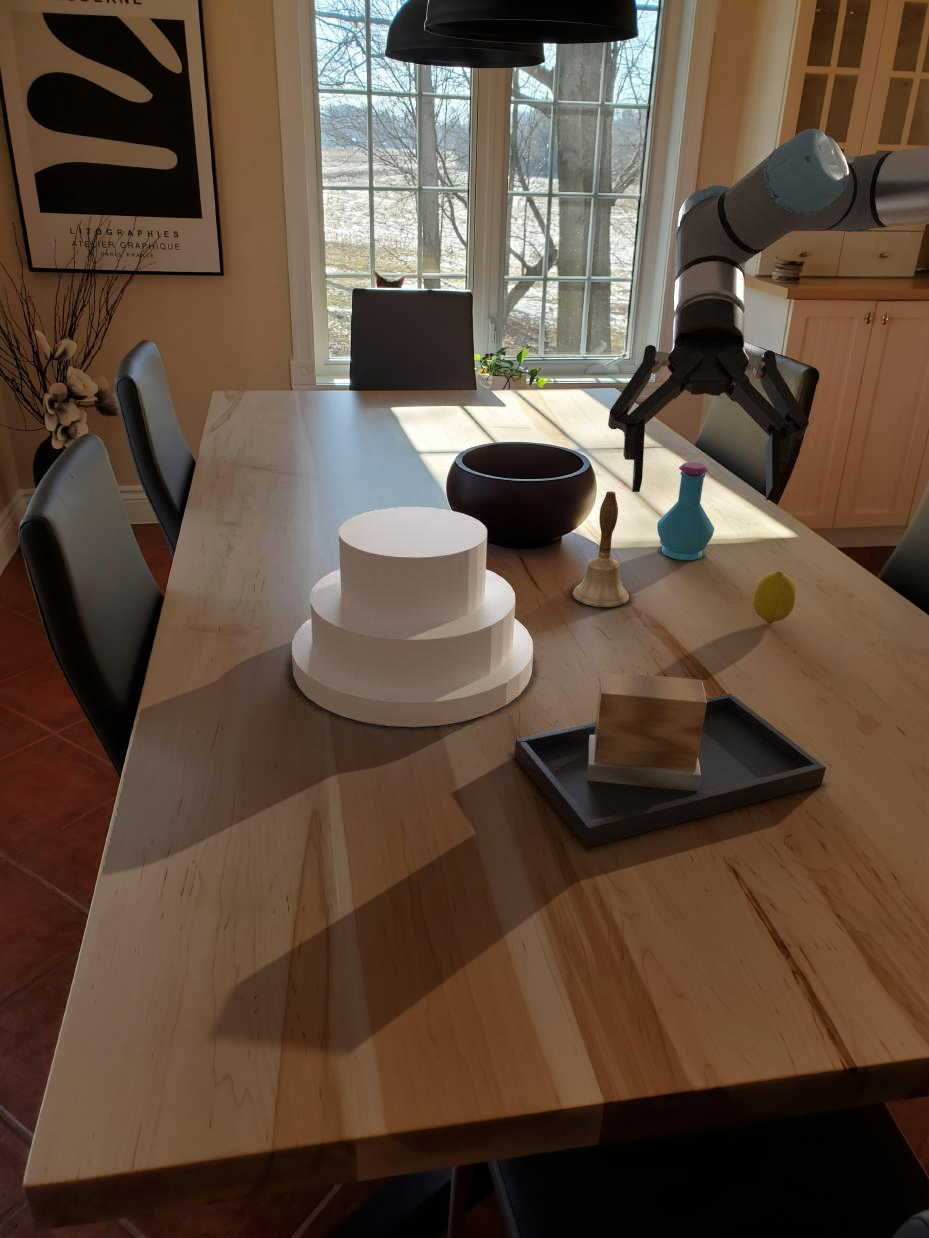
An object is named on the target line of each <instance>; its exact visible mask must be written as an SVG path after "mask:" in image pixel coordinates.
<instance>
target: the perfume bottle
mask: <svg viewBox="0 0 929 1238" xmlns="http://www.w3.org/2000/svg"><path fill="white" fill-rule="evenodd" d="M678 469H679V471H680V484H679V491H678V499H677V501H676V502H675V503H674V504H673V506H671V508H670V509H669V510H667V512H666V513H664V515H663V516H662V517H661V518H660V519H659V520H658V521H657V524H656V525H657V526H656V530H657V534H658V538H659V543H660V544H661V546H662V548H661V553H662V554H663V555H664V556H666V557H669V558H671V559H675V560H680V561H694V560H698V559H700V558H702V556H703V551H704V550H705V549H706V548H707V546H708V544H709V543H710V541H711V540H712V538H713V536H714V532H715V527H714V525H713V523H712V521H711V520H710V518H709V516H708V515H707V513H706V511H705V509H704V507H703V506H702V504H701V502H702V501H701V499H702V495H703V494H702V493H703V487H704V479H705V477H706V473H708V472H709V469H708V467H707V466H706V465H705V464H703V463H701V462H694V461H693V462H690V461H689V462H684V463H683V464H681V465H680V466H679V467H678Z"/></svg>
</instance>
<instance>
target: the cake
mask: <svg viewBox="0 0 929 1238" xmlns="http://www.w3.org/2000/svg"><path fill="white" fill-rule="evenodd" d="M338 542H339V543H338V547H339V549H338V550H339V551H338V552H339V568H338V569H335V570H333V571H331V572H329V573H328V574H327V575H325V576H323V577H321V578H319V580H318V581H317V582H316V583H315V584H314V585H313V587H312V588H311V591H310V594H309V600H310V601H309V602H310V605H309V607H310V618H309V619H308V620H306V621H305V622H304V623H303V624H302V625H301V626H300V627H299V628H298V629H297V631H296V632H295V634H294V636H293V638H292V641H291V660H292V675H293V678H294V680H295V683H296V685H297V687H298V688H299V690H300V691H301V692H302V693H303V694H304V695H305V696H306V697H307V698H308V699H309V700H311V701H313V703H315V704H316V705H318V706H319V707H320V708H323V709H324V710H327V711H329V712H331V713H334V714H335V715H338V716H341V717H344V718H347V719H352V720H355V721H358V722H360V723H366V724H374V725H379V726H387V727H402V728H403V727H405V728H407V727H408V728H422V727H435V726H436V727H437V726H445V725H451V724H455V723H462V722H467V721H470V720H473V719H477V718H479V717H483V716H486V715H489V714H491V713H493V712H495V711H497V710H499V709H501V708H503V707H505V706H507V705H509V703H511V702H512V701H513V700H515V699H516V698H517V697H519V696H520V695H521V693H522V692H523V691H524V690H525V688H527V686H528V684H529V683H530V679H531V676H532V673H533V661H534V644H533V642H534V641H533V639H532V636H531V635H530V632H529V631H528V629H527V628H526V627H525V626H524V625H523V624H522V623H521V622H520V621H519V620H518V619H516V618H515V614H516V592H515V591H514V589H513V587H512V585H511V584H510V583H509V582H508V581H507V580H506V579H505V578H504V577H502V576H500V575H499V574H497V573H496V572H494V571H492V570H489V569H487V550H488V547H487V545H488V528H487V527H486V526H485V524H484V523H483V522H481V521H480V520H479V519H477V518H475V517H473V516H470V515H468V514H465V513H462V512H459V511H455V510H450V509H444V508H439V507H438V508H437V507H428V506H396V507H395V506H394V507H386V508H380V509H373V510H370V511H365V512H362V513H359V514H357V515H354V516H352V517H349V518H348V519H346V520H345V521H344V522H343V523H342V524H341V525H340V527H339V528H338Z"/></svg>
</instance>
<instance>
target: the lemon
mask: <svg viewBox="0 0 929 1238" xmlns="http://www.w3.org/2000/svg"><path fill="white" fill-rule="evenodd" d="M795 585H796V584H795V583H794V581H793V580H792V578H791V577H789V576H788V575H787V574H785V573H784V572H783V571H782V570H776V571H773V572H769V573H767V574H765V575H763V576H762V577H761V578H760V580H759V581H758V582H757V584H756V586H755V588H754V592H753V597H752V603H753V608H754V611H755V612H756V614H757V615H758V616H759V617H760V618H761V619H763V620H764V621H765V622H766V623H767V624H768V625H772V624H773V623H775V622H779V621H782V620H784V619H786V618H788V616H789V615H790V614H791V612H792V611H793V609H794V607H795V603H796V600H797V599H796V598H797V593H796V592H797V590H796V586H795Z"/></svg>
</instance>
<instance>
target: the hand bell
mask: <svg viewBox="0 0 929 1238" xmlns="http://www.w3.org/2000/svg"><path fill="white" fill-rule="evenodd" d="M599 508H600V509H599V515H598V517H599V520H598V521H599V528H600V541H599V548H598V554H597V555H598V556H596V557H593V558H591V559H590V560H589V561H588V563H587V568H586V572H585V575H584V577H583V579H582V581H581V582H580V583H579V584H577V585H576V586H575V588H574V589H573V591H572V596H573V598H574V599H575V600H576V601H578V602H580V603H582V604H584V605H588V606H591V607H595V608H615V607H618V606H621V605H622V606H623V605H625V604H626V603H628V602H629V600H630V595H629V593H628V591H627V590H626V589H625V587H623V585H622V581H621V578H620V565H619V562H618V561H617V560H615V559H614V558H612V557H611V552H612V539H613V538H612V537H613V533H614V531H615V528H616V526H617V522H618V517H619V506H618V501H617V496H616V492H615V491H610V490H609V491H606V493H605V496H604V498H603V500H602V502H601V505H600V507H599Z"/></svg>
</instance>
